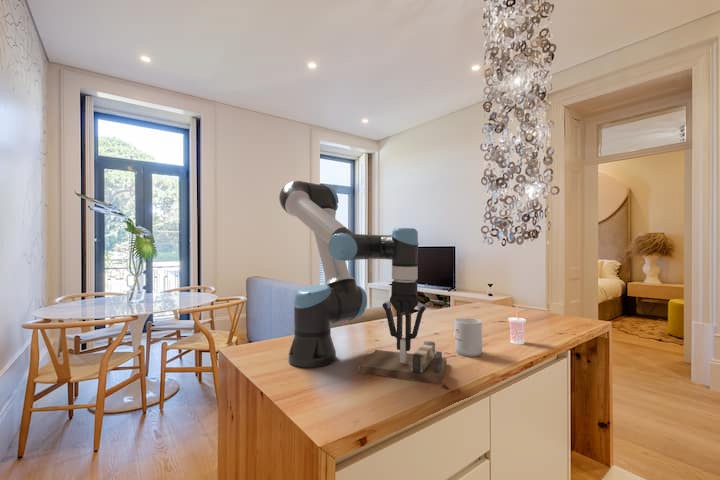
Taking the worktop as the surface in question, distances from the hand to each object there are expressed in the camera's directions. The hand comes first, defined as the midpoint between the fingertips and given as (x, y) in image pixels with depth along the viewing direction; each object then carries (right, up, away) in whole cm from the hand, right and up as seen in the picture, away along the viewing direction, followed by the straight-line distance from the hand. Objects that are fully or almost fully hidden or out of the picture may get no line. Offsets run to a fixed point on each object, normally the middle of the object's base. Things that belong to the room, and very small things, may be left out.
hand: (403, 361), depth 97 cm
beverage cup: (+48, -4, +30) cm, 56 cm away
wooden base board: (+1, -3, +2) cm, 4 cm away
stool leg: (+6, -1, 0) cm, 6 cm away
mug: (+24, -4, +18) cm, 31 cm away
